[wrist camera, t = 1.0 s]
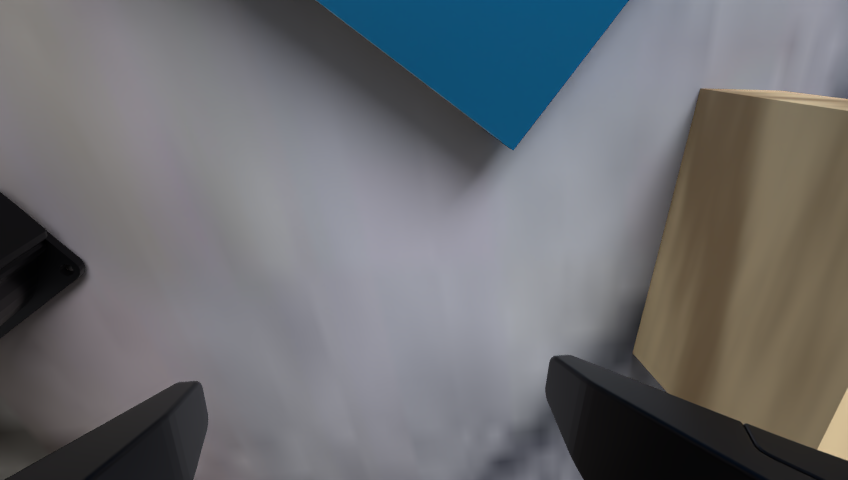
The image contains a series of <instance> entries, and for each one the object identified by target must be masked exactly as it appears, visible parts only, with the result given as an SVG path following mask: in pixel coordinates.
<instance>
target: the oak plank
mask: <svg viewBox="0 0 848 480" xmlns="http://www.w3.org/2000/svg"><path fill="white" fill-rule="evenodd" d="M633 354H634V355H635V357H636V358H637V359H638V360H639V361H640V362H641V363H642V364H643V366H644V367H645V368H646V369H647V370H648V371H649V372H650V373H651V375H652V376H653V377H654V378H655V379H656V380H657V381H658V383H659V384H660V385H661V386H662V387H663V388H664V389H665V390H666V392H667V393H669V394H671V395H674V396H677V397H679V398H682V399H684V400H687V401H689V402H692V403H694V404H697V405H700V406H702V407H705V408H707V409H710V410H712V411H715V412H718V413H720V414H723V415H725V416H728V417H730V418H733V419H735V420H738V421H740V422H742V424H743V425H744V424H745V423H748V424H750V425H753V426H755V427H758V428H760V429H763V430H766V431H768V432H771V433H773V434H776V435H779V436H781V437H784V438H787V439H789V440H792V441H795V442H797V443H800V444H803V445H805V446H808V447H811V448H814V449H817V450H819V451H822V452H825V453H828V454H831V455H834V456H836V457H839V458H842V459H845V460H848V99H842V98H834V97H826V96H818V95H810V94H803V93H795V92H787V91H772V90H736V89H700V92H699V96H698V100H697V104H696V108H695V112H694V115H693V119H692V123H691V127H690V131H689V135H688V139H687V143H686V147H685V151H684V154H683V158H682V162H681V166H680V170H679V174H678V178H677V182H676V186H675V189H674V193H673V197H672V201H671V205H670V209H669V213H668V217H667V221H666V225H665V228H664V232H663V236H662V240H661V244H660V248H659V252H658V256H657V260H656V264H655V267H654V271H653V275H652V279H651V283H650V287H649V291H648V295H647V299H646V302H645V306H644V310H643V314H642V318H641V322H640V326H639V330H638V334H637V338H636V341H635V345H634V349H633Z"/></svg>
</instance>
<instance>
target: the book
mask: <svg viewBox="0 0 848 480" xmlns="http://www.w3.org/2000/svg"><path fill="white" fill-rule="evenodd" d="M316 1H317V2H318V3H319V4H321V5H322V6H323V7H325V8H326V9H327V10H329V11H330V12H331V13H333V14H334V15H335V16H337V17H338V18H339V19H340V20H342V21H343V22H344V23H346V24H347V25H348V26H350V27H351V28H352V29H354V30H355V31H356V32H357V33H359V34H360V35H361V36H363V37H364V38H365V39H367V40H368V41H369V42H371V43H372V44H373V45H375V46H376V47H377V48H378V49H380V50H381V51H382V52H384V53H385V54H386V55H388V56H389V57H390V58H392V59H393V60H394V61H396V62H397V63H398V64H399V65H401V66H402V67H403V68H405V69H406V70H407V71H409V72H410V73H411V74H413V75H414V76H415V77H417V78H418V79H419V80H420V81H422V82H423V83H424V84H426V85H427V86H428V87H430V88H431V89H432V90H434V91H435V92H436V93H438V94H439V95H440V96H441V97H443V98H444V99H445V100H447V101H448V102H449V103H451V104H452V105H453V106H455V107H456V108H457V109H458V110H460V111H461V112H462V113H464V114H465V115H466V116H468V117H469V118H470V119H472V120H473V121H474V122H476V123H477V124H478V125H479V126H481V127H482V128H483V129H485V130H486V131H487V132H489V134H491V135H492V136H493V137H495V138H496V139H498V140H499V141H500V142H502V143H503V144H504V145H506V146H507V147H509V148H510V149H512V150H514V149H515V147H516V146H517V145H518V144H519V142H520V141H521V140H522V138H523V137H524V136H525V134H526V133H527V132H528V131H529V129H530V128H531V127H532V125H533V124H534V123H535V121H536V120H537V119H538V118H539V116H540V115H541V114H542V112H543V111H544V110H545V108H546V107H547V106H548V105H549V103H550V102H551V101H552V99H553V98H554V97H555V96H556V94H557V93H558V92H559V90H560V89H561V88H562V86H563V85H564V84H565V83H566V81H567V80H568V79H569V77H570V76H571V75H572V73H573V72H574V71H575V70H576V68H577V67H578V66H579V64H580V63H581V62H582V60H583V59H584V58H585V57H586V55H587V54H588V53H589V51H590V50H591V49H592V47H593V46H594V45H595V44H596V42H597V41H598V40H599V38H600V37H601V36H602V35H603V33H604V32H605V31H606V29H607V28H608V27H609V25H610V24H611V23H612V22H613V20H614V19H615V18H616V16H617V15H618V14H619V12H620V11H621V10H622V9H623V7H624V6H625V5H626V3H627V2H628V1H629V0H316Z"/></svg>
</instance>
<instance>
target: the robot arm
mask: <svg viewBox="0 0 848 480" xmlns="http://www.w3.org/2000/svg"><path fill="white" fill-rule="evenodd" d="M65 265H69V266H71V267H72V268H73V271H70V270H68V269H67V268H66V267H65ZM84 271H85V264H84V262H83V261H82V260H81V259H80V258H79V257H78V256H76V255H75V254H74V253H73V252H72V251H70V250H69V249H68V248H67V247H66V246H64V245H63V244H62V243H61V242H59V241H58V240H57V239H56V238H55V237H53V236H52V235H51V234H50V233H48V232H47V231H46V230H45V228H43V227H42V226H41V225H40V224H38V223H37V222H36V221H35V220H34V219H32V218H31V217H30V216H29V215H28V214H26V213H25V212H24V211H23V210H21V209H20V208H19V207H18V206H17V205H15V204H14V203H13V202H12V201H10V200H9V199H8V198H7V197H6V196H4V195H3V194H2V193H1V192H0V338H1V337H2V336H4V335H5V334H6V333H8V332H9V331H10V330H11V329H13V328H14V327H15V326H17V325H18V324H19V323H20V322H22V321H23V320H24V319H26V318H27V317H28V316H29V315H31V314H32V313H33V312H35V311H36V310H37V309H39V308H40V307H41V306H42V305H44V304H45V303H46V302H48V301H49V300H50V299H51V298H53V297H54V296H55V295H57V294H58V293H59V292H60V291H62V290H63V289H64V288H66V287H67V286H68V285H69V284H71V283H72V282H73V281H75V280H76V279H77V278H78V277H79V276H81V275H82V274H83V272H84ZM545 392H546V398H547V401H548V404H549V406H550V408H551V411H552V413H553V415H554V418H555V420H556V423H557V425H558V427H559V430H560V432H561V434H562V437H563V439H564V442H565V444H566V446H567V449H568V451H569V453H570V455H571V457H572V459H573V461H574V463H575V465H576V467H577V469H578V471H579V472H580V474H581V476H582V478H583V479H584V480H848V460H845V459H842V458H839V457H836V456H834V455H831V454H828V453H825V452H822V451H819V450H817V449H814V448H811V447H808V446H805V445H803V444H800V443H797V442H795V441H792V440H789V439H787V438H784V437H781V436H779V435H776V434H773V433H771V432H768V431H766V430H763V429H760V428H758V427H755V426H753V425H750V424H748V423H745V424H744V425H743V424H742V422H740V421H738V420H735V419H733V418H730V417H728V416H725V415H723V414H720V413H718V412H715V411H712V410H710V409H707V408H705V407H702V406H700V405H697V404H694V403H692V402H689V401H687V400H684V399H682V398H679V397H677V396H674V395H671V394H669V393H666V392H664V391H661V390H659V389H656V388H654V387H651V386H648V385H646V384H643V383H641V382H638V381H636V380H633V379H631V378H628V377H625V376H623V375H620V374H618V373H615V372H613V371H610V370H608V369H605V368H602V367H600V366H597V365H595V364H592V363H590V362H587V361H585V360H582V359H579V358H577V357H574V356H572V355H559V356H553V357H552V358H551V360H550V362H549V368H548V374H547V381H546V387H545ZM207 427H208V412H207V407H206V402H205V397H204V392H203V388H202V385H201V383H200V382H198V381H191V382H179V383H176V384H174V385H172V386H170V387H169V388H167V389H165V390H163V391H161V392H160V393H158V394H156V395H154V396H153V397H151V398H149V399H147V400H145V401H144V402H142V403H140V404H138V405H137V406H135V407H133V408H131V409H129V410H128V411H126V412H124V413H122V414H121V415H119V416H117V417H115V418H113V419H112V420H110V421H108V422H106V423H105V424H103V425H101V426H99V427H97V428H96V429H94V430H92V431H90V432H89V433H87V434H85V435H83V436H81V437H80V438H78V439H76V440H74V441H73V442H71V443H69V444H67V445H65V446H64V447H62V448H60V449H58V450H57V451H55V452H53V453H51V454H49V455H48V456H46V457H44V458H42V459H41V460H39V461H37V462H35V463H33V464H32V465H30V466H28V467H26V468H25V469H23V470H21V471H19V472H17V473H16V474H14V475H12V476H10V477H9V478H7V479H5V480H193V479H194V475H195V472H196V468H197V464H198V461H199V457H200V453H201V450H202V446H203V443H204V439H205V435H206V432H207Z"/></svg>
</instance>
